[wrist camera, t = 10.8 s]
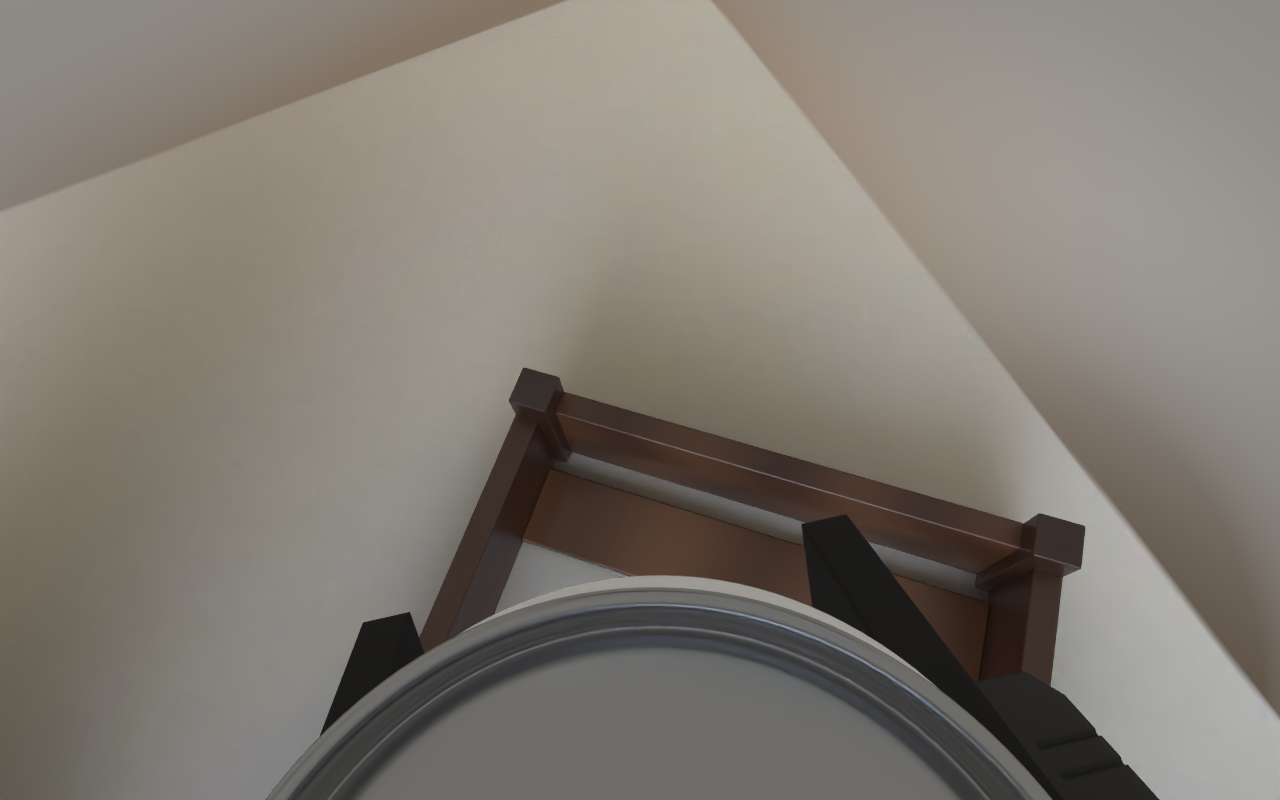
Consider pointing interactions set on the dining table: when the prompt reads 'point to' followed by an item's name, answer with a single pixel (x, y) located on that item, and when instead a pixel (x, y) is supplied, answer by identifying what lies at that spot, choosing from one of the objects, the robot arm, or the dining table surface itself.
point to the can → (658, 709)
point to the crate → (709, 548)
